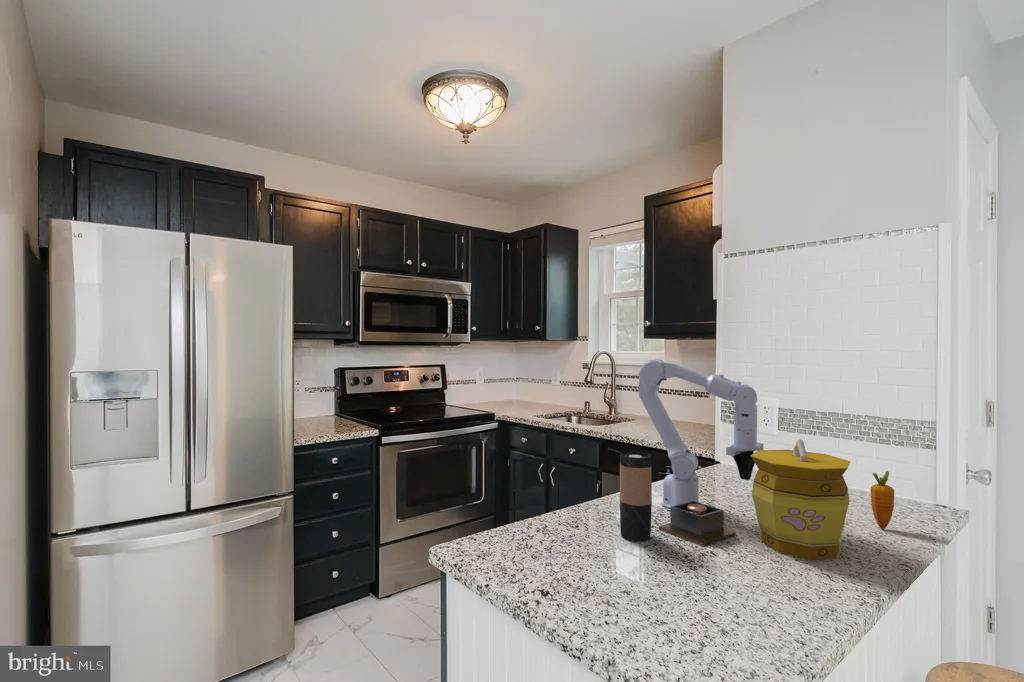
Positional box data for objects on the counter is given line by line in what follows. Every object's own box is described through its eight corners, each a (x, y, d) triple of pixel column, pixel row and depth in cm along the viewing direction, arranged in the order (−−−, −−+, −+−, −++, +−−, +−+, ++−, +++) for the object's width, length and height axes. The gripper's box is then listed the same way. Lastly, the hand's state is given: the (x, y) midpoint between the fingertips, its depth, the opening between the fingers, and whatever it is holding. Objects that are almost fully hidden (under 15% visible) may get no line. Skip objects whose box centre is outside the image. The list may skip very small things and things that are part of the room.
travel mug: (652, 543, 118) (652, 458, 118) (619, 540, 120) (619, 457, 120) (650, 531, 125) (650, 452, 126) (619, 529, 127) (619, 450, 127)
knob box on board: (658, 529, 127) (658, 505, 127) (691, 519, 134) (691, 497, 134) (703, 546, 116) (703, 520, 116) (736, 535, 123) (736, 510, 124)
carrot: (872, 531, 127) (872, 471, 127) (869, 525, 131) (868, 467, 131) (896, 534, 124) (896, 474, 125) (892, 528, 129) (892, 470, 129)
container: (834, 534, 124) (834, 434, 125) (870, 571, 104) (870, 450, 104) (742, 526, 130) (742, 430, 130) (759, 559, 110) (759, 445, 110)
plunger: (677, 525, 126) (677, 505, 126) (693, 520, 130) (694, 501, 130) (699, 533, 121) (699, 512, 121) (716, 528, 124) (716, 508, 124)
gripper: (743, 433, 130) (743, 486, 130) (774, 429, 138) (774, 478, 138) (719, 430, 136) (719, 480, 136) (749, 425, 144) (749, 473, 143)
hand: (745, 479), depth 137 cm, fingers closed
